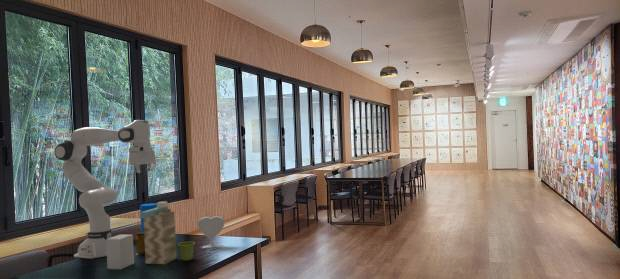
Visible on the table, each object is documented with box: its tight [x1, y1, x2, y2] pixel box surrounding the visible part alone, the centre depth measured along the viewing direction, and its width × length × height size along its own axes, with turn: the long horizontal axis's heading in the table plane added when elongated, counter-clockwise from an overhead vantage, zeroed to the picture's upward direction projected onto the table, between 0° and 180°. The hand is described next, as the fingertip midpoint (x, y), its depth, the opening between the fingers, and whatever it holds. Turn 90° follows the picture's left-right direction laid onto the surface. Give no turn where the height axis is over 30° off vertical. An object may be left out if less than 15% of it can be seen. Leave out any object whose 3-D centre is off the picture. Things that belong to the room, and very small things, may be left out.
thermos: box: [139, 202, 158, 232], centre depth 293 cm, size 11×11×25 cm
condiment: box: [134, 231, 145, 256], centre depth 267 cm, size 7×8×12 cm
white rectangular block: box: [106, 234, 135, 270], centre depth 240 cm, size 8×11×16 cm
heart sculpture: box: [197, 215, 225, 249], centre depth 276 cm, size 16×5×18 cm, turn 97°
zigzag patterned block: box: [143, 208, 177, 265], centre depth 247 cm, size 12×11×28 cm
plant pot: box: [176, 241, 196, 261], centre depth 248 cm, size 9×9×9 cm
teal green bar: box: [139, 201, 169, 219], centre depth 243 cm, size 4×21×6 cm, turn 166°
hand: (143, 172), depth 260 cm, fingers open, 8 cm apart
